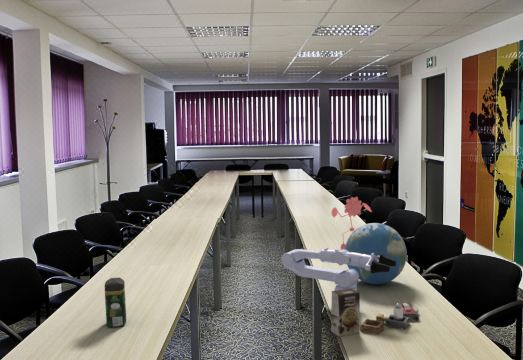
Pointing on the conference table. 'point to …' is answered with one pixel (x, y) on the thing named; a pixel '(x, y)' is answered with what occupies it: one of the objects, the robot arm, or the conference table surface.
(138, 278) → the conference table surface
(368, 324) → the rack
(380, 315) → the key
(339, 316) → the coffee box
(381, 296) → the conference table surface
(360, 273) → the globe
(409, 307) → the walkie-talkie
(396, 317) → the silver knobbed cylinder
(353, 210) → the figurine
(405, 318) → the block
